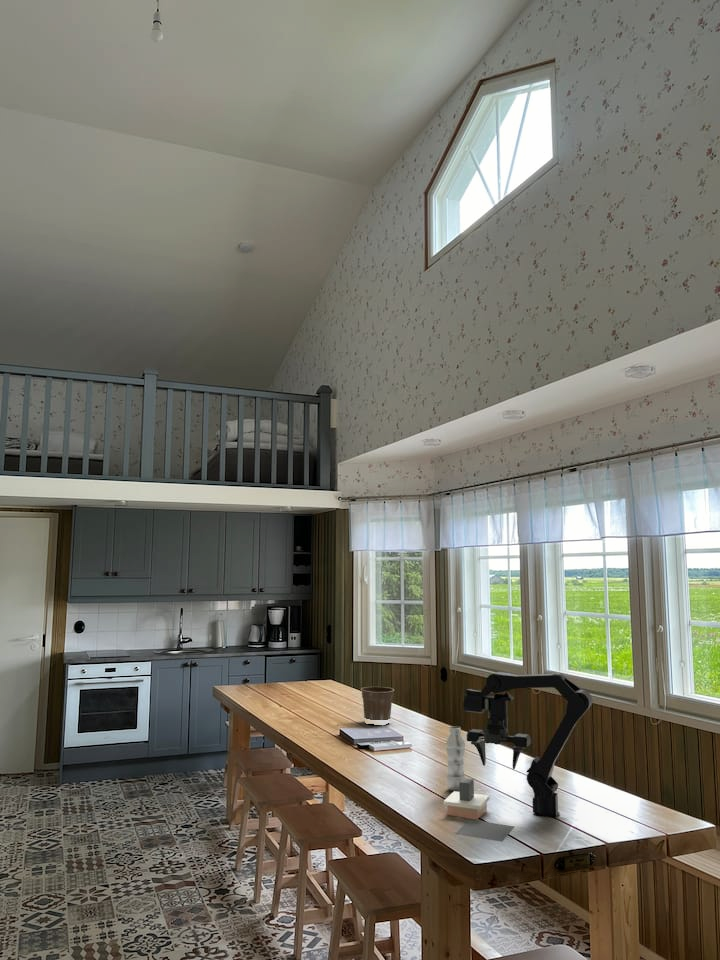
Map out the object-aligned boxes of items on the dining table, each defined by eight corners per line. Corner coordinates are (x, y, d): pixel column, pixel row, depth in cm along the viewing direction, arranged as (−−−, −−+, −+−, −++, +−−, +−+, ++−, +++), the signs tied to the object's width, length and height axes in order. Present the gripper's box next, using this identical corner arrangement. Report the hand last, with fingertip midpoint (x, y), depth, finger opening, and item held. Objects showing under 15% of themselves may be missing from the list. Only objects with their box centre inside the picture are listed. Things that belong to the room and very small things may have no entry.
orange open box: (486, 814, 215) (486, 800, 216) (477, 823, 207) (477, 808, 208) (458, 809, 219) (457, 795, 220) (447, 818, 211) (447, 803, 212)
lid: (489, 799, 217) (489, 778, 217) (480, 809, 207) (480, 787, 207) (453, 794, 221) (453, 774, 222) (443, 804, 211) (443, 783, 212)
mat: (514, 828, 202) (514, 826, 202) (502, 843, 190) (502, 841, 190) (469, 821, 207) (469, 819, 207) (455, 835, 196) (455, 833, 196)
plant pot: (401, 725, 343) (400, 690, 345) (371, 728, 335) (371, 692, 337) (382, 719, 357) (382, 685, 359) (354, 722, 349) (354, 687, 351)
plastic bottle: (463, 787, 241) (463, 725, 244) (467, 793, 234) (466, 729, 237) (444, 787, 241) (443, 725, 244) (447, 793, 234) (447, 729, 237)
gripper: (460, 716, 220) (461, 769, 218) (521, 721, 212) (523, 777, 209) (471, 710, 230) (472, 761, 228) (530, 715, 221) (531, 768, 219)
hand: (498, 767), depth 221 cm, fingers open, 9 cm apart
